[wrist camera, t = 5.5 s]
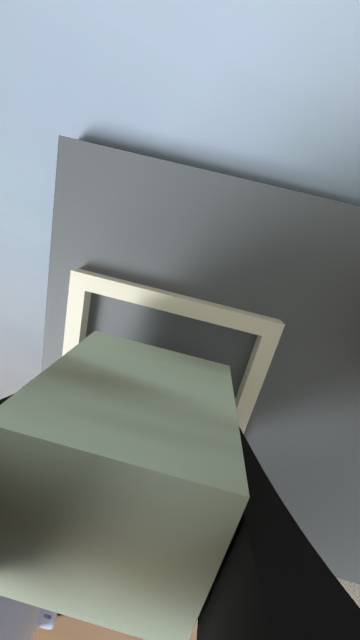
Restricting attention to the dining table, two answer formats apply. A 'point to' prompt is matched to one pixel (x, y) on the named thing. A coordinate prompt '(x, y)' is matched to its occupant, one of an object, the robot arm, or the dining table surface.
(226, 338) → the grey board
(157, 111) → the dining table surface
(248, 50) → the dining table surface
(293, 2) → the dining table surface
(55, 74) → the dining table surface
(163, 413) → the sage block
